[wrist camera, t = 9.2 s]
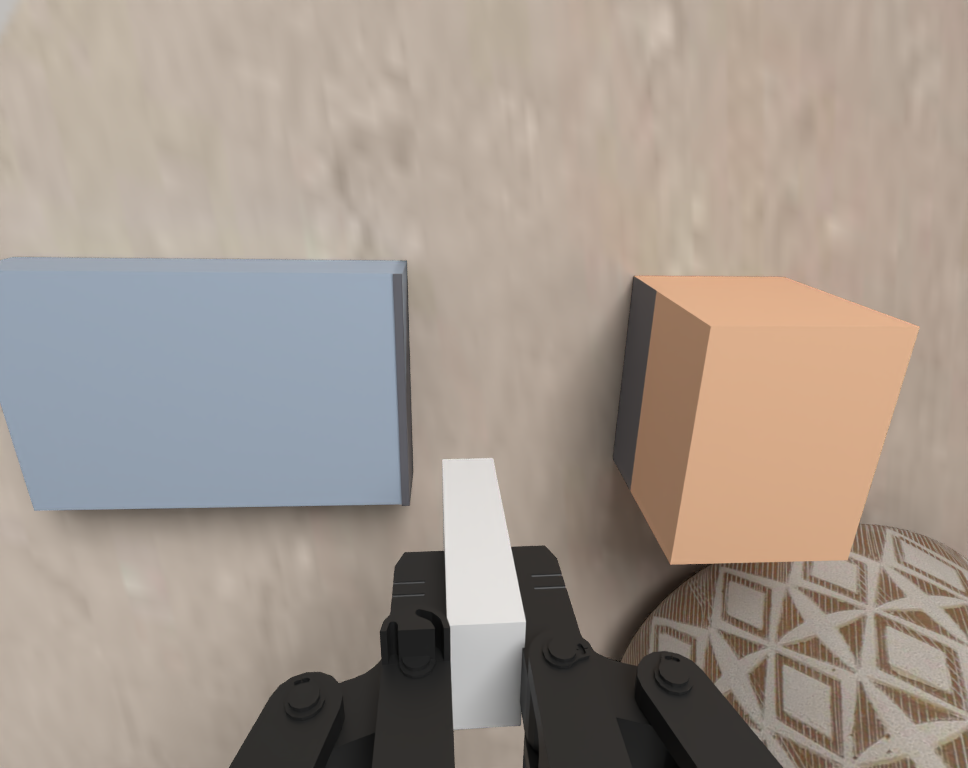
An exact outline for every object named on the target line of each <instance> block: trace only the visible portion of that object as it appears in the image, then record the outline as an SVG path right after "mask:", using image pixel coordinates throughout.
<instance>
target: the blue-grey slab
mask: <svg viewBox="0 0 968 768" xmlns="http://www.w3.org/2000/svg"><path fill="white" fill-rule="evenodd" d="M0 404H1V407H2V410H3V413H4V416H5V419H6V422H7V426H8V429H9V432H10V435H11V438H12V441H13V445H14V448H15V451H16V454H17V457H18V460H19V463H20V467H21V470H22V473H23V476H24V479H25V482H26V486H27V489H28V492H29V495H30V498H31V501H32V504H33V508H34V511H36V510H94V509H153V508H212V507H270V506H329V505H388V504H402V506H410V497H411V488H412V478H413V448H412V414H411V381H410V347H409V314H408V280H407V261H381V260H272V259H162V258H52V257H12V258H7V259H3V260H0Z"/></svg>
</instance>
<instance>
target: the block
mask: <svg viewBox="0 0 968 768" xmlns="http://www.w3.org/2000/svg"><path fill="white" fill-rule="evenodd" d="M919 328H920V327H919V326H916V325H913V324H911V323H908V322H905V321H903V320H900V319H897V318H894V317H892V316H889V315H886V314H884V313H881V312H878V311H875V310H873V309H870V308H867V307H864V306H862V305H859V304H856V303H854V302H851V301H848V300H845V299H843V298H840V297H837V296H835V295H832V294H829V293H826V292H824V291H821V290H818V289H816V288H813V287H810V286H807V285H805V284H802V283H799V282H796V281H794V280H791V279H788V278H786V277H716V276H634V280H633V289H632V297H631V306H630V315H629V323H628V332H627V341H626V349H625V358H624V367H623V375H622V384H621V393H620V401H619V410H618V419H617V427H616V436H615V444H614V453H613V460H614V462H615V464H616V465H617V467H618V469H619V471H620V473H621V475H622V476H623V478H624V480H625V482H626V484H627V486H628V488H629V489H630V491H631V493H632V495H633V497H634V499H635V500H636V502H637V504H638V506H639V508H640V510H641V511H642V513H643V515H644V517H645V519H646V521H647V523H648V524H649V526H650V528H651V530H652V532H653V534H654V535H655V537H656V539H657V541H658V543H659V545H660V546H661V548H662V550H663V552H664V554H665V556H666V558H667V559H668V561H669V563H670V565H672V564H714V563H755V562H796V561H838V560H848V558H849V554H850V551H851V548H852V545H853V541H854V538H855V535H856V532H857V528H858V525H859V522H860V519H861V515H862V512H863V509H864V506H865V503H866V499H867V496H868V493H869V490H870V486H871V483H872V480H873V477H874V473H875V470H876V467H877V464H878V460H879V457H880V454H881V451H882V448H883V444H884V441H885V438H886V435H887V431H888V428H889V425H890V422H891V418H892V415H893V412H894V409H895V405H896V402H897V399H898V396H899V393H900V389H901V386H902V383H903V380H904V376H905V373H906V370H907V367H908V363H909V360H910V357H911V354H912V351H913V347H914V344H915V341H916V338H917V334H918V331H919Z"/></svg>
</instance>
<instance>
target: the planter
mask: <svg viewBox="0 0 968 768" xmlns="http://www.w3.org/2000/svg"><path fill="white" fill-rule="evenodd" d="M659 651H668V652H673V653H677V654H680V655H682V656H684V657H686V658H688V659H690V660H692V661H693V662H694V663H695V664H696V665H697V666H699V667H700V668H701V669H702V670H703V671H704V673H705V674H706V675H707V676H708V677H709V679H710V680H711V681H712V682H713V683H714V685H715V686H716V687H717V688H718V689H719V691H720V692H721V693H722V694H723V695H724V697H725V698H726V699H727V700H728V701H729V703H730V704H731V705H732V706H733V707H734V709H735V710H736V711H737V712H738V714H739V715H740V716H741V717H742V718H743V720H744V721H745V722H746V723H747V724H748V726H749V727H750V728H751V729H752V730H753V732H754V733H755V734H756V735H757V736H758V738H759V739H760V740H761V741H762V742H763V744H764V745H765V746H766V747H767V748H768V750H769V751H770V752H771V753H772V755H773V756H774V757H775V758H776V759H777V761H778V762H779V763H780V764H781V765H782V767H783V768H968V560H967V559H966V558H965V557H963V556H962V555H960V554H959V553H957V552H956V551H954V550H953V549H951V548H949V547H947V546H946V545H944V544H942V543H940V542H938V541H936V540H933V539H931V538H928V537H926V536H923V535H920V534H917V533H914V532H910V531H907V530H903V529H898V528H894V527H888V526H880V525H869V524H859V525H858V528H857V532H856V535H855V538H854V541H853V545H852V548H851V551H850V554H849V558H848V560H838V561H796V562H755V563H714V564H710V565H709V566H707V567H705V568H704V569H702V570H701V571H699V572H698V573H696V574H695V575H693V576H692V577H691V578H689V579H688V580H687V581H685V582H684V583H683V584H681V585H680V586H679V587H678V588H677V589H675V590H674V591H673V592H672V593H671V594H670V595H669V596H668V597H666V598H665V599H664V600H663V601H662V602H661V603H660V604H659V605H658V606H657V608H656V609H655V610H654V611H653V612H652V613H651V614H650V615H649V617H648V618H647V619H646V620H645V622H644V623H643V624H642V625H641V627H640V628H639V630H638V631H637V633H636V634H635V635H634V637H633V639H632V641H631V642H630V644H629V646H628V648H627V650H626V652H625V654H624V656H623V658H622V660H621V662H622V663H626V664H631V665H635V666H638V664H639V663H640V661H641V660H642V658H643V657H644V656H646V655H648V654H650V653H652V652H659Z"/></svg>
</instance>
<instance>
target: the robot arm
mask: <svg viewBox="0 0 968 768" xmlns="http://www.w3.org/2000/svg"><path fill="white" fill-rule="evenodd" d="M442 474H443V543H444V551H430V552H405V553H404V554H403V556H402V557H401V558H400V560H399V561H398V563H397V564H396V566H395V571H394V581H393V592H392V602H391V613H390V615H389V616H388V617H387V618H386V619H385V620H384V622H383V624H382V627H381V630H380V642H381V657H382V659H381V660H380V662H379V663H378V664H377V665H376V666H375V667H374V668H372V669H371V670H369V671H368V672H367V673H365V674H363V675H360V676H358V677H356V678H353V679H350V680H347V681H344V682H342V683H338V682H337V681H336V680H335V679H334V678H333V677H332V676H330V675H327V674H324V673H321V672H306V673H303V674H300V675H297V676H294V677H292V678H290V679H289V680H287V681H286V682H284V683H283V684H281V685H280V686H279V687H278V688H277V689H276V691H275V692H274V693H273V694H272V695H271V697H270V698H269V700H268V702H267V703H266V705H265V707H264V709H263V710H262V712H261V714H260V715H259V717H258V719H257V721H256V722H255V724H254V726H253V727H252V729H251V731H250V733H249V734H248V736H247V738H246V739H245V741H244V743H243V745H242V746H241V748H240V750H239V751H238V753H237V755H236V757H235V758H234V760H233V762H232V763H231V765H230V767H229V768H455V762H454V736H453V730H459V729H474V728H490V727H505V726H521V712H522V718H523V724H524V731H525V737H524V755H523V768H783V767H782V765H781V764H780V763H779V762H778V761H777V759H776V758H775V757H774V756H773V755H772V753H771V752H770V751H769V750H768V748H767V747H766V746H765V745H764V744H763V742H762V741H761V740H760V739H759V738H758V736H757V735H756V734H755V733H754V732H753V730H752V729H751V728H750V727H749V726H748V724H747V723H746V722H745V721H744V720H743V718H742V717H741V716H740V715H739V714H738V712H737V711H736V710H735V709H734V707H733V706H732V705H731V704H730V703H729V701H728V700H727V699H726V698H725V697H724V695H723V694H722V693H721V692H720V691H719V689H718V688H717V687H716V686H715V685H714V683H713V682H712V681H711V680H710V679H709V677H708V676H707V675H706V674H705V673H704V671H703V670H702V669H701V668H700V667H699V666H697V665H696V664H695V663H694V662H693V661H692V660H690V659H688V658H686V657H684V656H682V655H680V654H677V653H673V652H668V651H659V652H652V653H650V654H648V655H646V656H644V657H643V658H642V660H641V661H640V663H639V664H638V666H635V665H631V664H626V663H622V662H617V661H614V660H611V659H607V658H605V657H603V656H601V655H599V654H598V653H596V652H595V651H594V650H593V649H592V647H591V645H590V644H589V643H588V642H587V641H586V640H585V639H584V638H582V636H581V634H580V631H579V628H578V625H577V621H576V618H575V615H574V612H573V609H572V605H571V602H570V599H569V596H568V592H567V589H566V588H565V583H564V580H563V576H562V574H561V570H560V567H559V564H558V560H557V558H556V557H555V556H554V555H553V554H552V553H551V552H550V551H549V550H548V549H547V547H546V546H522V547H511V545H510V540H509V535H508V530H507V525H506V520H505V515H504V510H503V505H502V500H501V495H500V490H499V485H498V480H497V476H496V471H495V466H494V461H493V458H473V459H442Z"/></svg>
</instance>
